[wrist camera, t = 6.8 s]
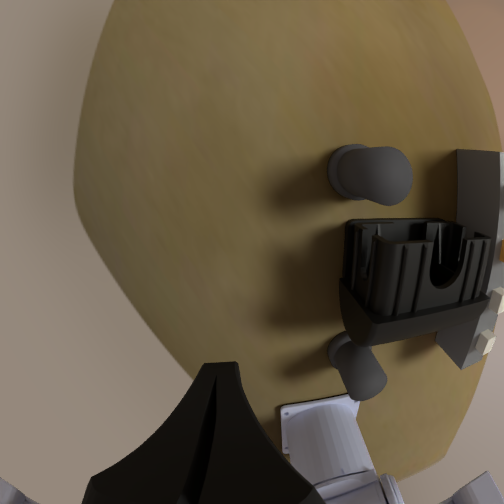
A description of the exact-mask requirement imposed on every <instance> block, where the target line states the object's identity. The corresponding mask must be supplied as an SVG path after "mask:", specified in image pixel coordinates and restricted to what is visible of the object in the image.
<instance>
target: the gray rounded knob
mask: <svg viewBox="0 0 504 504" xmlns="http://www.w3.org/2000/svg"><path fill="white" fill-rule="evenodd" d="M327 174H328V179H329V182H330V184H331V186H332V187H333V189H334V190H335V191H336V192H337V193H339V194H340V195H342V196H344V197H347V198H349V199H352V200H364V199H367V200H370V201H373V202H376V203H379V204H382V205H386V206H392V205H396V204H398V203H400V202H401V201H403V200H404V199H405V198H406V197H407V195H408V193H409V192H410V189H411V186H412V181H413V174H412V168H411V165H410V163H409V161H408V159H407V158H406V156H405V155H404V154H403V153H402V152H401V151H399V150H398V149H396V148H393V147H372V148H369V147H367V146H364V145H361V144H352V145H346V146H342V147H340V148H338V149H337V150H336V151H335V152H334V153H333V154H332V156H331V157H330V159H329V162H328V167H327Z"/></svg>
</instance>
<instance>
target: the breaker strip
mask: <svg viewBox="0 0 504 504" xmlns="http://www.w3.org/2000/svg"><path fill="white" fill-rule="evenodd" d="M457 172H458V193H457V217H456V223H458V224H460V225H463V226H465V227H466V234H465V238H474V232H480V233H482V234H485V235H487V236H489V237H491V243H490V249H489V254H488V259H487V264H486V269H485V274H484V278H483V282H482V286H481V290H480V291H482V292H483V293H484V294H486V295H487V296H489V297H490V300H489V302H488V305H487V307H486V309H485V310H484V312H483V313H482V314H481V315H480V316H479V317H478V318H477V319H475V320H474V321H471V322H467V323H464V324H461V325H458V326H454V327H451V328H447V329H444V330H440V331H438V332H437V335H436V339H435V341H436V342H437V343H438V345H439V346H440V347H441V348H442V349H443V350H444V351H445V352H446V353H447V355H448V356H449V357H450V358H451V359H452V360H453V361H454V362H455V364H456V365H457V366H458V367H459V368H460V369H461V370H462V369H464V368H466V367H468V366H470V365H472V364H474V363H476V362H478V361H480V360H482V357H483V355H484V354H486V353H488V352H490V351H491V349H492V346H493V344H494V341H495V339H496V335H495V334H494V333H493V332H492V331H493V329H494V326H495V323H496V320H497V316H498V314H499V313H502V312H504V153H502V152H495V151H482V150H464V149H457Z"/></svg>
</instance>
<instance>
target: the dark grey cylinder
mask: <svg viewBox="0 0 504 504" xmlns="http://www.w3.org/2000/svg"><path fill="white" fill-rule="evenodd" d="M327 352H328V357H329V359H330V361H331V364H332V366H333V367H334V368H336V369H338V371H339V373H340V375H341V378H342V380H343V383H344V385H345V387H346V390H347V392H348V394H349V397H350V398H351V399H352V400H354V401H364V400H368V399H370V398H372V397H374V396H376V395H377V394H378V393H380V392H381V391H382V390H383V388H384V387H385V385H386V383H387V376H386V374H385V373H384V371H383V369H382V368H381V366H380V364H379V363H378V361H377V359H376V358H375V356H374V355H373V353H372V351H371V346H369V347H359V346H356V345H355V344H354V343H353V342H352V341H351V339H350V338H349V336H348V334H347V332H346V331H344V332H342V333H340V334H339V335H337V336H336V337H335V338H334V339H333V340H332V341H331V343H330V344H329V346H328V351H327Z"/></svg>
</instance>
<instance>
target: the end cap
mask: <svg viewBox="0 0 504 504" xmlns="http://www.w3.org/2000/svg"><path fill="white" fill-rule="evenodd" d="M465 234H466V227H465V226H463V225H460V224H458V223H455V222H449V221H445V220H442V219H440V218H377V219H351V220H349V221H348V222H347V223H346V226H345V239H344V257H343V272H342V276H343V278H340V281H339V297H340V308H341V314H342V319H343V323H344V326H345V329H346V332H347V334H348V336H349V338H350V339H351V341H352V342H353V343H354V344H355V345H356V346H359V347H369V346H374V345H379V344H385V343H389V342H394V341H399V340H403V339H408V338H412V337H416V336H421V335H425V334H429V333H432V332H436V331H440V330H444V329H447V328H451V327H454V326H458V325H461V324H464V323H467V322H471V321H474V320H475V319H477V318H478V317H479V316H480V315H481V314H482V313H483V312H484V310H485V309H486V307H487V305H488V302H489V300H490V297H489V296H487V295H486V294H484V293H483V292H482V291H480V290H481V286H482V282H483V278H484V274H485V269H486V264H487V259H488V254H489V249H490V243H491V237H489V236H487V235H485V234H482V233H480V232H474V238H465Z"/></svg>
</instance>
